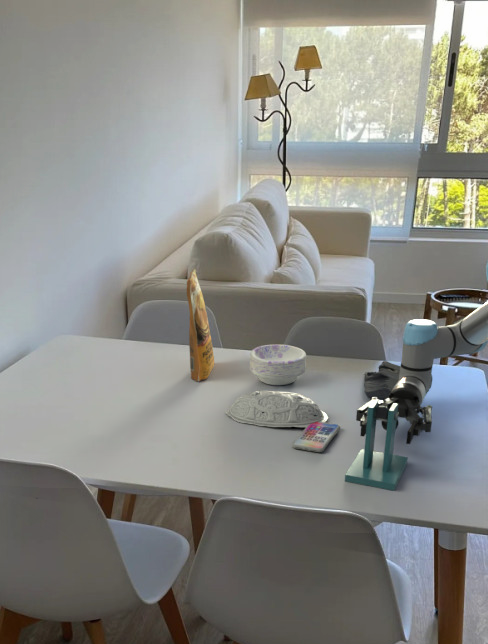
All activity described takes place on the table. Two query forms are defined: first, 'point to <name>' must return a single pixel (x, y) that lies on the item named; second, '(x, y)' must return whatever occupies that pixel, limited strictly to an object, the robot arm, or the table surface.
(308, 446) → the smartphone
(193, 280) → the pancake mix bag
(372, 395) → the dark slate chunk
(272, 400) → the carved stone relief
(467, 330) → the robot arm
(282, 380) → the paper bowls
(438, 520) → the table surface
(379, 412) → the lever
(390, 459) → the bracket
